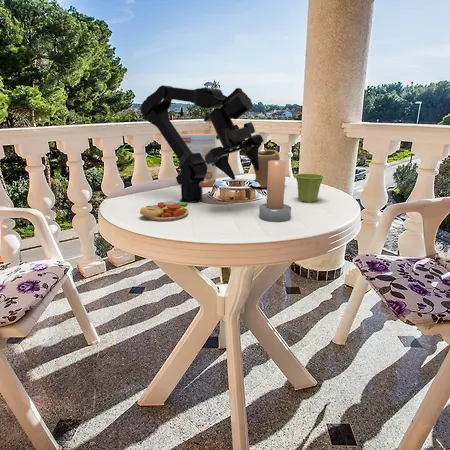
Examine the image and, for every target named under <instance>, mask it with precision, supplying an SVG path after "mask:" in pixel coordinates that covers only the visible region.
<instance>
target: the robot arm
mask: <svg viewBox="0 0 450 450" xmlns="http://www.w3.org/2000/svg"><path fill="white" fill-rule="evenodd" d="M173 100H175V101H183V102H188V103H191V104H193V105H195V106H197V107H199V108H202V109H207V110H208V109H213V110H211V111H207V112H205V116H204V119H203V122H211V124H212V126H213V128H214V131H215V132H216V135H215V139H216V140H219V141H220V143H221V145H222V146H220V145H219V146H218V147H216V146H215V148H213V149H211V150H210V151H209V152H208V153H207V154H206V155H205V160H204V159H203V158H202V156H201V154H200V153H192V152H191V151H190V149H189V148H188V146H187V145H186V143H185V142H184V141H183V139H182V138H181V136H180V133H179V132H178V130H177V129H176V127H175V126H174V125H173V123H172V121H170V113H169V109H170V108H171V104H172V101H173ZM251 109H253V102H252V99H251V98H250V97H249V96H248V94H246V93H245V92H244V91H243V90H242V88H240V87H236V88H235V89H234V90H233V91H232V92H231V93H229V95H225V94H224V93H223V91H222V90H221V89H220V88H213V87H201V88H200V87H199V88H195V89H190V88H183V87H182V88H180V87H173V86H171V85H164V84H163V85H160V86H159V87H157V89H156V90H155V91H154V92H153V93H151V94H150V95H148V96H147V97H146V99H145V100H144V101H143V102H142V103H141V105H140V113H141V115H142V117H144V119H146V121H147V123H148V122H149V123H150V125H151V124H152V125H153V126H154V127H155V128H157V129H158V131H159V133H160V134H161V136H162V137H163V138H164V140H165V141H166V142H167V144H168V146H169V147H170V149H171V150H172V152H173V153H174V154H175V156H176V157H177V159H178V164H179V166H178V168H179V169H180V172H179V173H178V174H177V176H176V177H175V179H176V183H177V184H178V185H180V189H181V190H180V191H181V192H180V193H181V199H180V201H179V202H186V203H200V201H201V200H202V199H203V195H204V194H203V192H204V191H203V187H202V186H201V181H204V178H205V175H206V174H207V169H208V168H207V165H209V164H212V163H213V164H212V166H215V168H217V169H219V170H220V171H222V172H223V173H224V174H225V175H227V176H228V177H229V178H230V179H231V180H232V181H234V180H236V176H235V173H234V171H233V169H232V166H231V165H230V162H229V159H228V156H229V155H230V154H233V153H235V152H238V151H242V150H244V151H246V152H245V155H246V157H247V158H248V160H249V161H250V163H251V165H252V166H253V169H254V168H255V169H256V171H258V170H259V161H258V151H260V150H259V149H260V147H261V146H262V143H264V138H263V136H262V135H261V134H260V133H257V134H254V133H256V129H255V126H254V124H253V122H252V121H250V122H246V123H244V124H243V127H241V128H240V127H239V126H238V124H235V123H233V120H238V119H239V118H240V117H243V115H245V114H247V112H249V111H250V110H251ZM232 119H233V120H232ZM252 134H254V135H252ZM206 163H207V165H206Z"/></svg>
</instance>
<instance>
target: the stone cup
mask: <svg viewBox="0 0 450 450" xmlns="http://www.w3.org/2000/svg"><path fill="white" fill-rule="evenodd" d="M271 160H280V155H279V152H278V151H277V150H275V149H265V150H262V151H261V150H258V161H259V170H258V171H256V169H255V168H254V167H253V170H254V174H255V179H252V181H255V182H258V183H259V184H260V185H261V188H260V189H264V188H266V189H267V181H268V161H271Z"/></svg>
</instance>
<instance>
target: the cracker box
mask: <svg viewBox="0 0 450 450" xmlns="http://www.w3.org/2000/svg"><path fill="white" fill-rule="evenodd" d="M179 135H180V136H181V138H182V139H183V141H184V142H185V143H186V145H187V146H188V148H189V149H190V151H191V152H192V153H200V154H201V156H202V158H203V159H204V160H205V155H206V154H207V153H208V152H209V151H210V150H211V149H213V148H216V135H215V134H214V133H185V134H184V133H182V134H181V133H179ZM212 164H213V163H212ZM212 164H209V165H207V163H206V165H207V168H208V169H207V174H206V175H205V178H204V181H201V186H202V188H207V187H209V188H210V187H212V186H213V184H214V183H215V182H216V181H217V180H216V179H217V177H216V166H212Z"/></svg>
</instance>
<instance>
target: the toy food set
mask: <svg viewBox="0 0 450 450" xmlns="http://www.w3.org/2000/svg"><path fill="white" fill-rule="evenodd" d="M188 205H189V202H180V201H179V202H177V201H172V200H170V201H163V202H162V201H160V202H158V203H157V204H153V205H147V206H144V207H141V208H140V210H139V214H140V215H142V216H145V217H146V218H147V219H149V220H150V221H151V220H152V221H158V222H168V221H169V222H170V221H176V220H181V219H183V218H184V217H186V216H187V215H188V214H189V210H188V209H187V208H186V207H187V206H188Z"/></svg>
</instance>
